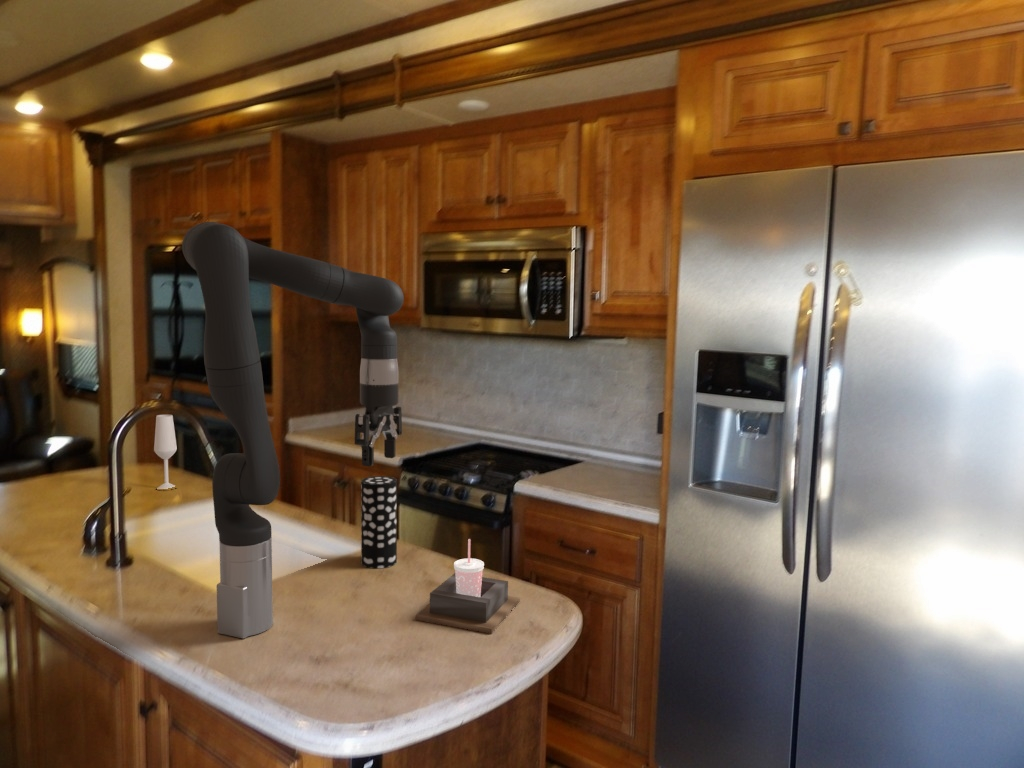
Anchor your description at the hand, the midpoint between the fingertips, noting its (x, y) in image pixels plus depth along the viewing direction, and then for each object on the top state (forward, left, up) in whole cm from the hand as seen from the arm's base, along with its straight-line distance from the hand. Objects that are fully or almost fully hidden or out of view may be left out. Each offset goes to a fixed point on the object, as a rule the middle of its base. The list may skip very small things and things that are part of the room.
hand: (379, 461), depth 146 cm
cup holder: (+5, -18, -30) cm, 35 cm away
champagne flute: (+54, +111, -30) cm, 127 cm away
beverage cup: (+5, -18, -29) cm, 35 cm away
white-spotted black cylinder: (+22, +13, -30) cm, 40 cm away
